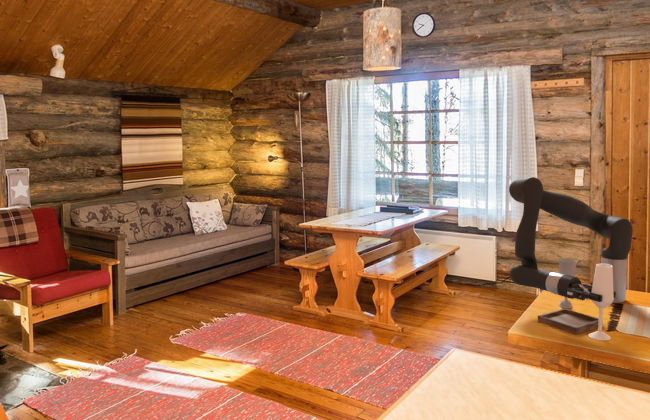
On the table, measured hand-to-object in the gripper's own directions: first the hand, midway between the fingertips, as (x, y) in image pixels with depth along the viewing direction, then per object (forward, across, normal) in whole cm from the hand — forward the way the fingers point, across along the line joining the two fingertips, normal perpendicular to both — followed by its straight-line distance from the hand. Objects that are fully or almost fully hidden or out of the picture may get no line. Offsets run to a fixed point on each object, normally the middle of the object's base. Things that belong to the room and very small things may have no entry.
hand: (608, 296), depth 184 cm
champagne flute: (-2, 0, +14) cm, 14 cm away
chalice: (-28, +19, +14) cm, 37 cm away
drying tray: (-15, +3, +14) cm, 21 cm away
